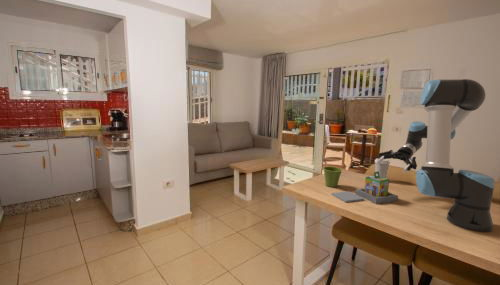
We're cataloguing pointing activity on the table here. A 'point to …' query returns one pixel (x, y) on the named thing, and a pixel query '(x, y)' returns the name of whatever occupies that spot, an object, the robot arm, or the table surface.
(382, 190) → the chalk box
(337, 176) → the plant pot
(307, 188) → the table surface
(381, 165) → the coffee cup
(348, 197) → the pad
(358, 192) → the collar
